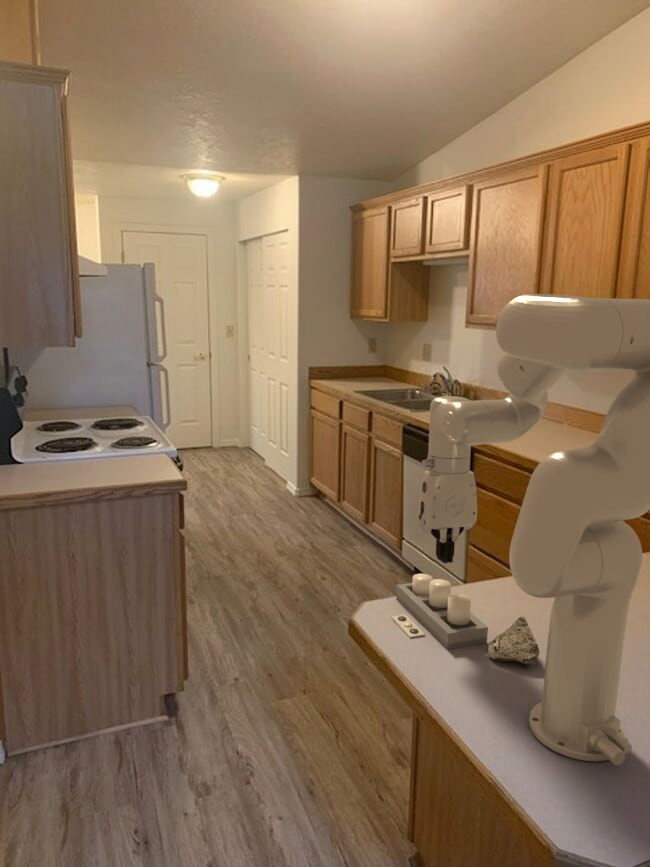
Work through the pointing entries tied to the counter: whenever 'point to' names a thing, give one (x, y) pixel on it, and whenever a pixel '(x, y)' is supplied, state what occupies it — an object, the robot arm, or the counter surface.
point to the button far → (421, 584)
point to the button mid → (439, 593)
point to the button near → (458, 609)
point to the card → (407, 626)
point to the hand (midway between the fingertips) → (444, 560)
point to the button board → (441, 620)
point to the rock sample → (515, 644)
